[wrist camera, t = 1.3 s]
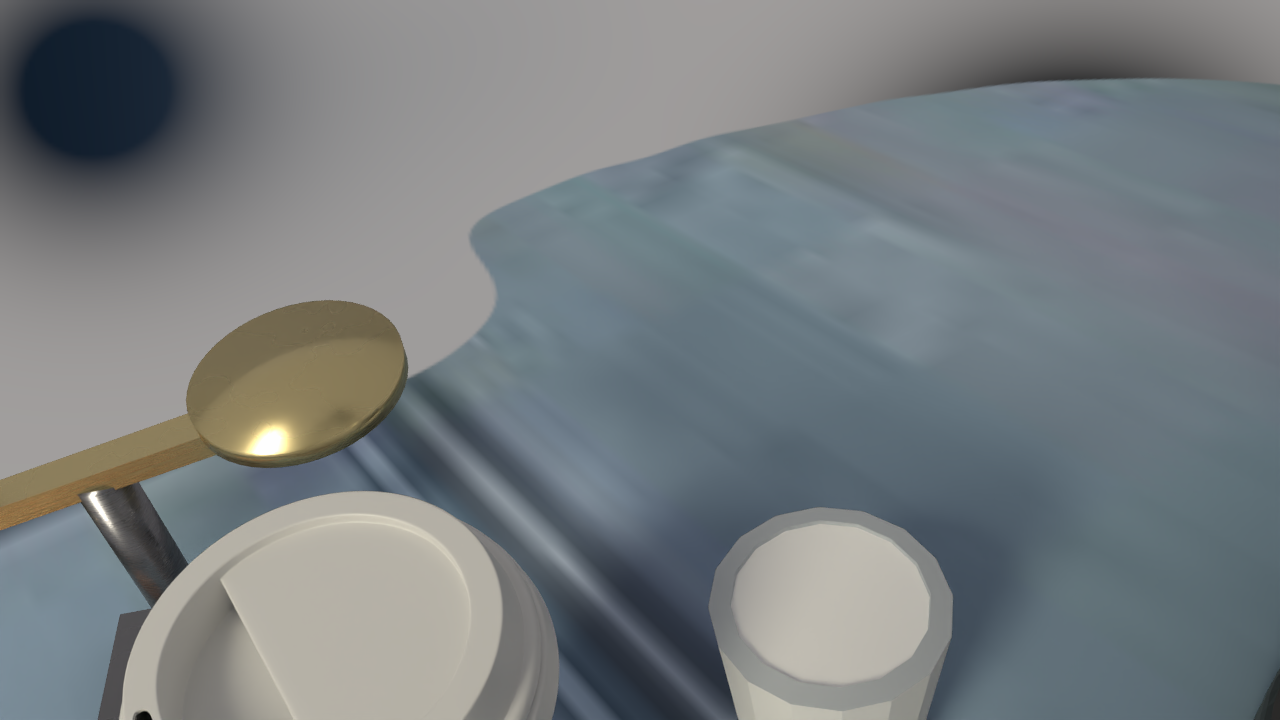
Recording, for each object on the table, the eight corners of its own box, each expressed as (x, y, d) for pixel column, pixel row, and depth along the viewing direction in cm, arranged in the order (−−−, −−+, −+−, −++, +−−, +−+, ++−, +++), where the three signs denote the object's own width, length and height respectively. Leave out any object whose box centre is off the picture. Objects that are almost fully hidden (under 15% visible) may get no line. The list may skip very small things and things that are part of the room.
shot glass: (725, 833, 36) (711, 713, 31) (718, 638, 41) (705, 510, 36) (955, 826, 35) (976, 703, 30) (920, 630, 40) (933, 497, 35)
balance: (491, 563, 44) (402, 282, 35) (501, 704, 40) (402, 426, 30) (-18, 657, 43) (-249, 397, 34) (-66, 811, 39) (-345, 561, 30)
